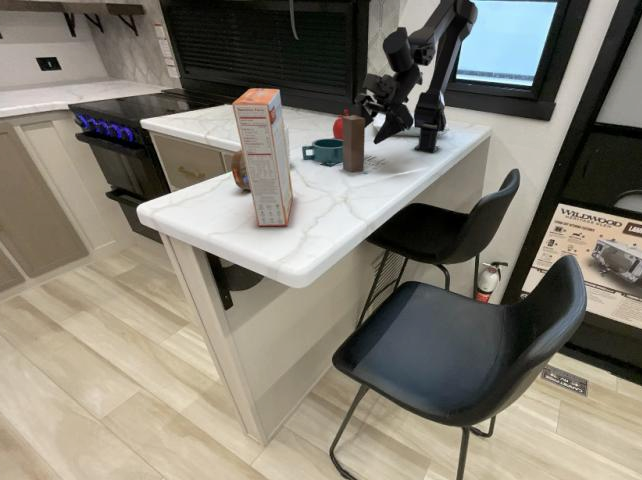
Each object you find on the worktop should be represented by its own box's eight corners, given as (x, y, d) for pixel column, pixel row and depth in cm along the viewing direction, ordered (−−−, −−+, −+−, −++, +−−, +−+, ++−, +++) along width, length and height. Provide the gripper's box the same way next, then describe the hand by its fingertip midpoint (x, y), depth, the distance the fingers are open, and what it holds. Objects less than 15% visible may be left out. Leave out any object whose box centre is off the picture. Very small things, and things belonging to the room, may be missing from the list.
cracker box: (266, 197, 73) (248, 87, 60) (294, 197, 74) (281, 88, 61) (255, 227, 63) (229, 100, 49) (287, 227, 63) (270, 101, 50)
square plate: (448, 140, 118) (451, 128, 115) (372, 137, 117) (373, 125, 115) (437, 123, 139) (439, 112, 136) (372, 120, 138) (373, 109, 136)
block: (355, 168, 91) (355, 115, 83) (363, 172, 88) (365, 118, 80) (343, 170, 89) (342, 116, 81) (351, 175, 87) (351, 120, 78)
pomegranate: (367, 142, 112) (368, 111, 106) (342, 146, 107) (341, 114, 101) (352, 135, 118) (352, 106, 112) (327, 139, 113) (326, 108, 107)
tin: (247, 195, 74) (239, 156, 69) (234, 194, 74) (225, 155, 69) (275, 173, 85) (270, 138, 80) (263, 172, 86) (257, 137, 80)
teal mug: (342, 153, 101) (342, 137, 98) (352, 164, 94) (352, 147, 91) (300, 156, 97) (298, 139, 95) (306, 167, 90) (305, 149, 87)
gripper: (361, 55, 83) (325, 109, 85) (410, 62, 71) (367, 124, 73) (383, 90, 91) (350, 138, 93) (430, 101, 80) (392, 156, 82)
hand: (363, 138), depth 85 cm, fingers open, 9 cm apart
